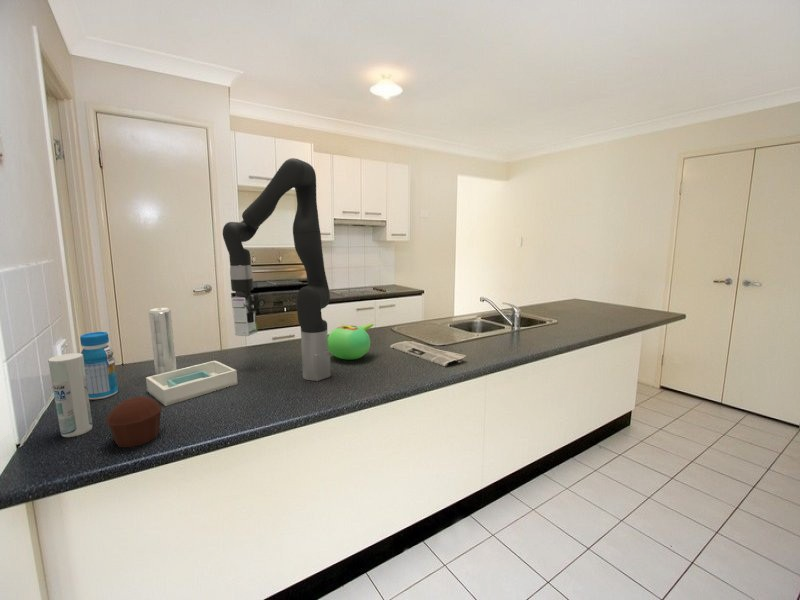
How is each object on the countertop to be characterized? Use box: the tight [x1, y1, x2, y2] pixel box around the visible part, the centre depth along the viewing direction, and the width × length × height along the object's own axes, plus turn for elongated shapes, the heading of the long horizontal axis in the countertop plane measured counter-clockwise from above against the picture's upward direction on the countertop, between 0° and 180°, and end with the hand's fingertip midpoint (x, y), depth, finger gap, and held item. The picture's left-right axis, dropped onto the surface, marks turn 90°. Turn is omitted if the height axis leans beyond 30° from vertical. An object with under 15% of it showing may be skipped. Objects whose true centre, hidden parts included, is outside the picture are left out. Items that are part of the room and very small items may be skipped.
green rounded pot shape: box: [328, 323, 374, 361], centre depth 154 cm, size 18×17×15 cm
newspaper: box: [390, 340, 467, 367], centre depth 159 cm, size 35×12×4 cm, turn 40°
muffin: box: [104, 396, 163, 448], centre depth 92 cm, size 12×11×10 cm
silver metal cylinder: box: [148, 307, 178, 375], centre depth 132 cm, size 6×6×25 cm
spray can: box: [48, 352, 93, 438], centre depth 94 cm, size 6×6×20 cm
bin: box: [145, 360, 238, 407], centre depth 123 cm, size 16×22×5 cm
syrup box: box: [231, 297, 258, 337], centre depth 138 cm, size 6×6×14 cm
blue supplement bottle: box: [79, 331, 119, 401], centre depth 116 cm, size 8×8×20 cm
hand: (245, 321), depth 139 cm, fingers closed on syrup box, 7 cm apart
